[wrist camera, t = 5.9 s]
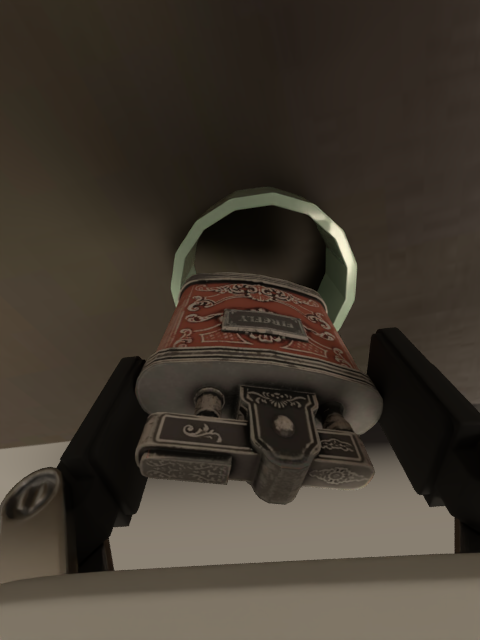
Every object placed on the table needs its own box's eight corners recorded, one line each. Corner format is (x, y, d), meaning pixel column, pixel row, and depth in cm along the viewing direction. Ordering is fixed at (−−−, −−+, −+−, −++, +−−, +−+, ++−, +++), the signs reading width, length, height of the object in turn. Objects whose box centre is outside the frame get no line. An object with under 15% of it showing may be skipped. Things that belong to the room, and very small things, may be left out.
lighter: (331, 285, 15) (460, 458, 6) (314, 336, 16) (395, 530, 8) (182, 263, 14) (88, 421, 5) (179, 319, 16) (105, 507, 7)
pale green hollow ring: (203, 335, 24) (194, 372, 20) (170, 201, 19) (147, 211, 15) (331, 322, 23) (351, 358, 19) (335, 175, 18) (364, 178, 14)
